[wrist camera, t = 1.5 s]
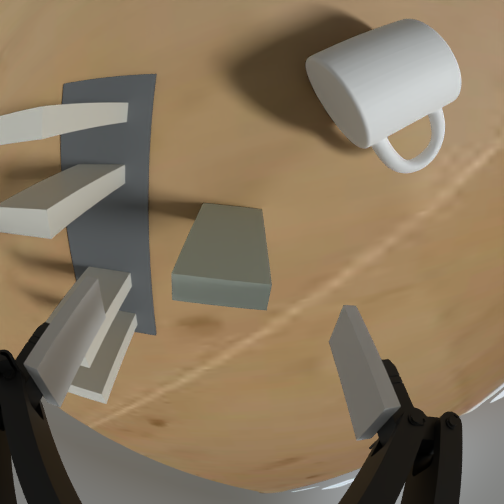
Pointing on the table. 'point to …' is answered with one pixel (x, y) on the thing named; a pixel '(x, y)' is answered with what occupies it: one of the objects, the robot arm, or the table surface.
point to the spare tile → (224, 259)
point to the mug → (387, 87)
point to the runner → (122, 199)
